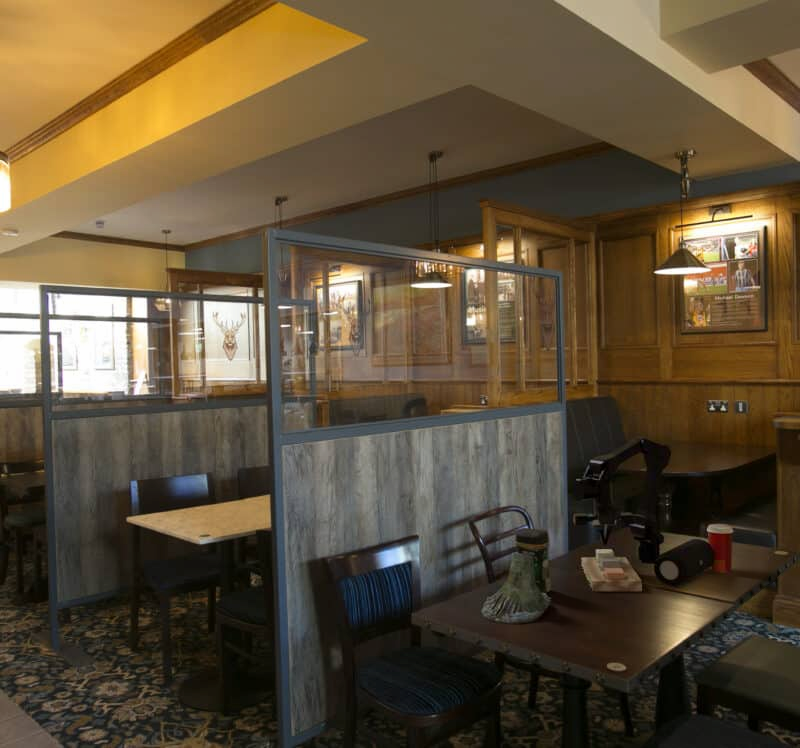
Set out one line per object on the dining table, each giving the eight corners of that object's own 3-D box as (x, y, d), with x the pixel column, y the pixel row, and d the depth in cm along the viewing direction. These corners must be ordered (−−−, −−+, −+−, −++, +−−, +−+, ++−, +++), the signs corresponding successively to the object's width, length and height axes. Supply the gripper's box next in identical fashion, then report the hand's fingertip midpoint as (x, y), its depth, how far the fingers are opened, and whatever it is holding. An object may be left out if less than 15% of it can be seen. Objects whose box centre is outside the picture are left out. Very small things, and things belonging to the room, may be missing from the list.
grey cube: (616, 572, 222) (616, 556, 222) (619, 577, 217) (618, 560, 217) (600, 572, 222) (599, 556, 222) (602, 577, 218) (602, 561, 218)
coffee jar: (513, 592, 210) (510, 530, 210) (525, 585, 216) (522, 524, 216) (542, 597, 204) (540, 533, 204) (554, 590, 210) (552, 527, 210)
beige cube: (612, 564, 231) (611, 549, 231) (614, 568, 226) (614, 553, 226) (596, 564, 231) (595, 549, 231) (598, 568, 226) (598, 553, 226)
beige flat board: (625, 566, 232) (625, 557, 232) (642, 591, 206) (641, 580, 206) (581, 566, 234) (581, 557, 233) (592, 591, 208) (592, 581, 208)
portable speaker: (684, 591, 204) (683, 556, 204) (651, 585, 211) (650, 551, 211) (718, 571, 222) (717, 539, 222) (687, 565, 229) (685, 535, 229)
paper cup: (727, 566, 226) (726, 523, 226) (739, 573, 219) (737, 528, 218) (703, 567, 226) (702, 524, 226) (713, 574, 219) (712, 529, 219)
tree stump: (464, 614, 195) (471, 547, 198) (513, 614, 207) (519, 551, 210) (514, 627, 180) (520, 555, 184) (564, 627, 192) (569, 559, 196)
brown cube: (622, 584, 213) (621, 568, 213) (625, 589, 208) (624, 572, 208) (605, 584, 214) (604, 568, 214) (607, 589, 209) (606, 572, 209)
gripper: (576, 502, 222) (578, 552, 222) (637, 501, 219) (639, 551, 219) (572, 496, 233) (574, 543, 233) (630, 494, 230) (632, 542, 230)
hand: (604, 545), depth 229 cm, fingers closed
